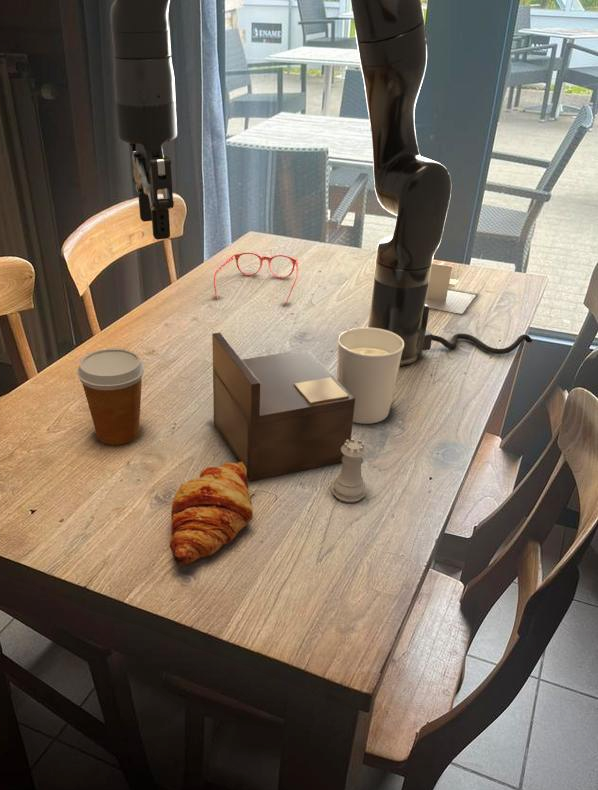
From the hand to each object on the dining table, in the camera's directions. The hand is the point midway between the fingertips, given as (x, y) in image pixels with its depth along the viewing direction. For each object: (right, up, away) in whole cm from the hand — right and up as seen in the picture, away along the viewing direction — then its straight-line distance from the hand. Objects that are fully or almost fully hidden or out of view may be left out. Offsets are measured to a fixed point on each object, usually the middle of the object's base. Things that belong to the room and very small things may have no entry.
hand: (154, 229), depth 100 cm
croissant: (+8, -40, -8) cm, 42 cm away
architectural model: (+53, +4, +52) cm, 75 cm away
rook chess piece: (+26, -37, -3) cm, 45 cm away
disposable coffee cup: (-7, -28, +9) cm, 30 cm away
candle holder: (+31, -24, +15) cm, 42 cm away
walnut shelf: (+18, -29, +7) cm, 35 cm away
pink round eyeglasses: (+16, +7, +56) cm, 59 cm away
